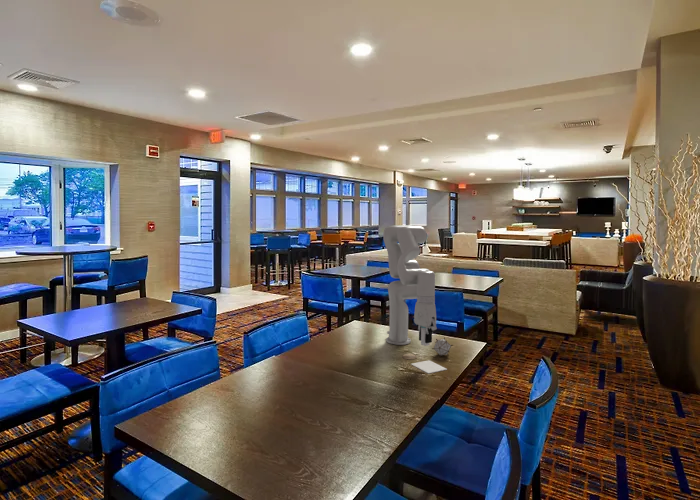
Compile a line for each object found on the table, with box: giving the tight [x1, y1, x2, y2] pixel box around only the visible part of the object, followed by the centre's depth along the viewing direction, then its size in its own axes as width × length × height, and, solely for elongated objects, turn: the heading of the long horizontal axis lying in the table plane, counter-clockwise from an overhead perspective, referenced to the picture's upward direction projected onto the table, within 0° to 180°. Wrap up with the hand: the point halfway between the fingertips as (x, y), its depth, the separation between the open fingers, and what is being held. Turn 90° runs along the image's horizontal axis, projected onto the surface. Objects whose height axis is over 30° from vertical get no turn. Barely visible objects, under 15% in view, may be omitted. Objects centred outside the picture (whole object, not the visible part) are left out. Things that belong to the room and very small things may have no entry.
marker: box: [420, 326, 430, 347], centre depth 178 cm, size 4×4×9 cm
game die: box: [431, 337, 454, 358], centre depth 192 cm, size 9×8×10 cm
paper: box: [410, 359, 448, 374], centre depth 177 cm, size 12×10×1 cm
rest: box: [401, 353, 417, 361], centre depth 190 cm, size 6×6×1 cm
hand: (425, 341), depth 179 cm, fingers closed on marker, 3 cm apart
